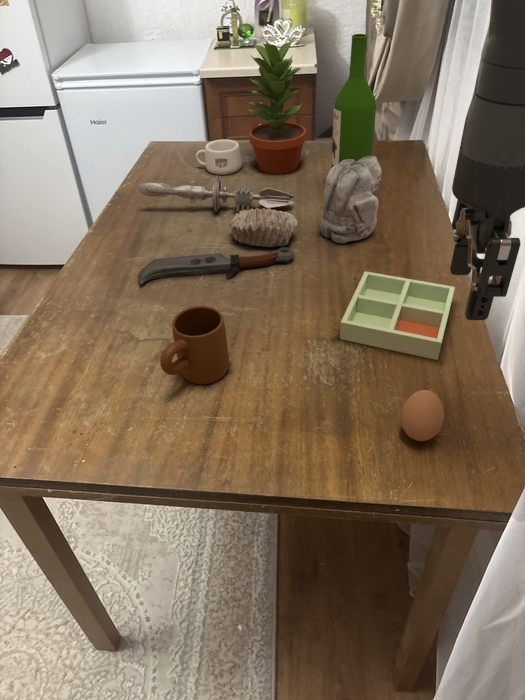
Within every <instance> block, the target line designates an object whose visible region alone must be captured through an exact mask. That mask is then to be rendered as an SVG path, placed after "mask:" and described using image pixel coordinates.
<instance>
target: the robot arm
mask: <svg viewBox="0 0 525 700" xmlns="http://www.w3.org/2000/svg"><path fill="white" fill-rule="evenodd" d="M489 13H490V14H489V23H488V27H487V31H486V35H485V39H484V42H483V46H482V50H481V54H480V59H479V65H478V68H477V69H478V70H477V75H476V79H475V84H474V89H473V94H472V98H471V100H470V104H469V106H468V108H467V109H468V110H467V112H466V115H465V120H464V124H463V129H462V135H461V139H460V145H459V148H458V153H457V154H458V155H457V159H456V165H455V170H454V175H453V179H452V184H451V192H452V195H453V196H454V198H456V199H457V200H456V204H455V210H454V213H453V218H452V222H451V229H452V230H453V231H454V234H453V237H452V238H453V241H454V243H455V244H454V248H453V253H452V257H451V261H450V267H449V272H450V274H451V275H453V276H469V275H470V274H471V283H470V290H469V294H468V298H467V302H466V306H465V310H464V316H465V318H466V320H468V321H485V320H487V319H488V318H489V315H490V312H491V309H492V305H493V301H494V298H505V297H507V295H508V292H509V287H510V284H511V280H512V277H513V274H514V270H515V265H516V262H517V260H518V259H517V258H518V255H519V251H520V248H521V238H520V237H511V235H512V230H513V229H512V225H513V223H512V220H511V216H512V215H513V214H514V213H516V212H518V211H520V210H521V209H525V0H491V1H490V11H489ZM478 255H484V257H483V258H480V257H479V256H478Z"/></svg>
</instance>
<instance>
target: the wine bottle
mask: <svg viewBox="0 0 525 700" xmlns="http://www.w3.org/2000/svg"><path fill="white" fill-rule="evenodd" d="M367 39H368V35H367V34H365V33H355V34H352V35H351V44H350V45H351V46H350V59H349V60H350V61H349V72H348V73H349V75H348V78H347V80H346V81H345V83H344V84H343V86H342V88H341V90H340V91H339V93H338V94H337V96H336V97H335V101H334V105H333V117H332V118H333V119H332V122H333V123H332V141H331V144H332V145H331V168H332V167H334V166H336V165H338V164H339V163H340V162H342V161H343V160H346V159H353V160H355V161H356V162H357V161H358V160H360V159H361V158H363V157H365V156H368V155H373V147H374V138H375V137H374V135H375V126H376V125H375V123H376V114H377V113H376V112H377V101H376V97H375V94H374V93H373V91H372V88H371V87H370V85H369V83H368V81H367V79H366V59H367Z"/></svg>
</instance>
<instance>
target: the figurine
mask: <svg viewBox="0 0 525 700" xmlns="http://www.w3.org/2000/svg"><path fill="white" fill-rule="evenodd" d="M381 178H382V168H381V165H380V162H379V161H378V158H377V157H376V156H375V155H373V154H372V155H368V156H365V157H363V158H361V159H360V160H358V161H357V162H356V161H355V160H353V159H346V160H343V161H342V162H340V163H339V164H338V165H336V166H334V167H332V166H331V167H330V170H329V172H328V174H327V176H326V178H325V183H324V190H323V205H324V207H323V213H322V216H321V219H320V224H319V225H320V226H319V230H320V233H321V235H322V236H323V237H325V238H326V239H331V241H332V242H333V243H335V244H347V243H348V242H355V241H359V240H363V239H366V238H367V237H368V236H370V235H371V234H372V232H374V230H375V227H376V225H377V215H378V209H379V199H378V198H377V196H376V195H374V194H373V193H374V192H375V191H376V190H378V188H379V182H380V181H381Z"/></svg>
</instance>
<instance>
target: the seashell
mask: <svg viewBox="0 0 525 700" xmlns="http://www.w3.org/2000/svg"><path fill="white" fill-rule="evenodd" d="M298 224H299V221H298V219H297V218H296V216H295V215H294V214H292V213H289V212H285V211H282V210H277V209H272V208H266V207H262V208H258V207H256V208H255V209H254V208H249V210H246V209H244V210H243V211H241V210H239V211H238V212H235V215H234V216H233V218H232V219H231V221H230V222H229V228H230V233H231V236H232V238H233V239H234V240H235V242H238V243H240V244H244V245H250V246H255V247H263V248H265V247H267V248H275V247H285V246H286V245H288V244H289V242H290V240H291V236H292V234H293V231H294V229H295V228H296V227H297V225H298Z"/></svg>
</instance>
